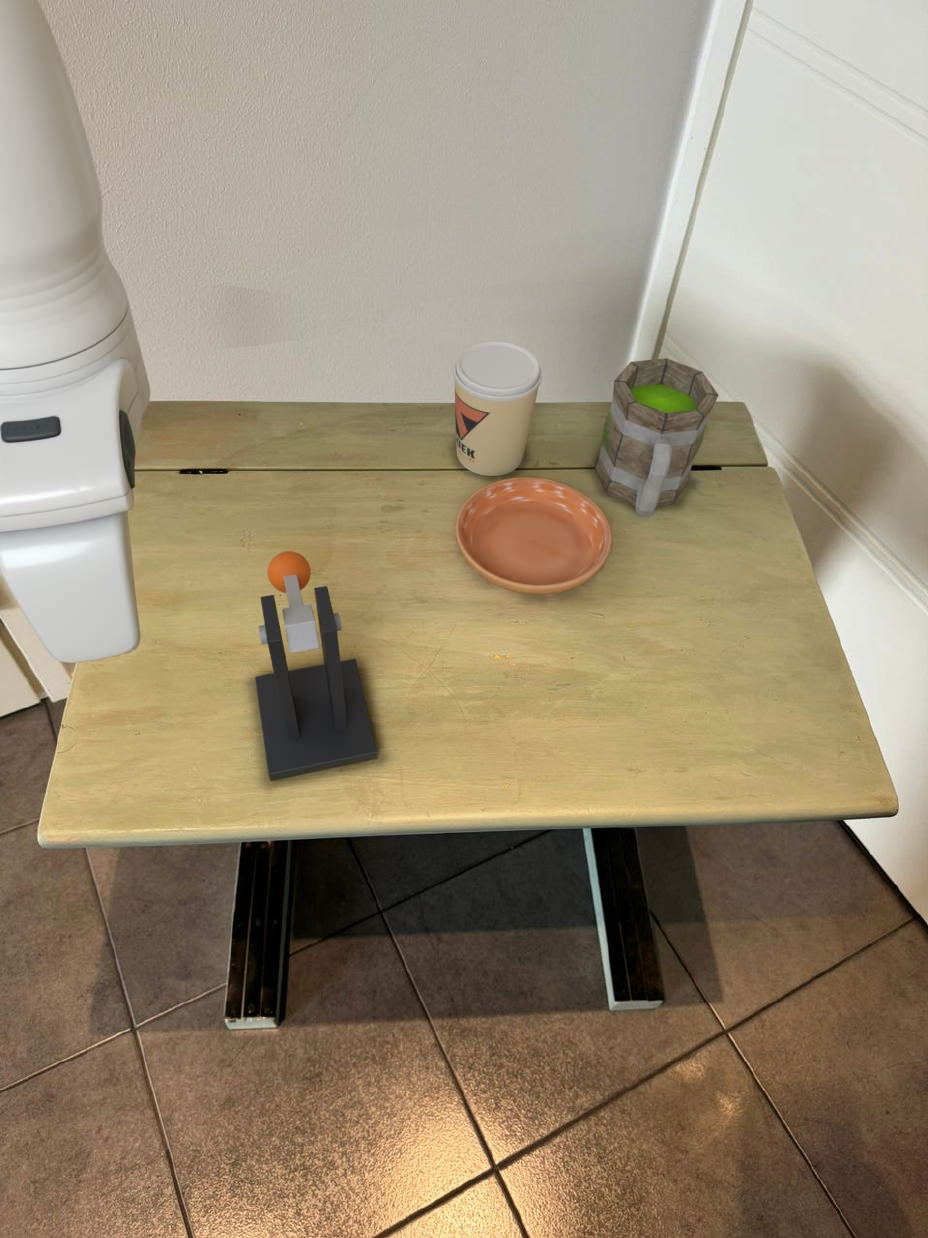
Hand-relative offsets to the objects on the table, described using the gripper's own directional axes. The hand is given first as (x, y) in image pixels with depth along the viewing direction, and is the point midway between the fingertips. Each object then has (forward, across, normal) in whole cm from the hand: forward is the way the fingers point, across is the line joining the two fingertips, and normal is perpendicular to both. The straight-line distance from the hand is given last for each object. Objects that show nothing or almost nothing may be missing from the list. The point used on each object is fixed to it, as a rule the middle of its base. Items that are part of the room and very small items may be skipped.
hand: (115, 581), depth 48 cm
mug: (+24, -25, +52) cm, 62 cm away
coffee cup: (+25, -35, +37) cm, 57 cm away
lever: (+16, -9, +11) cm, 21 cm away
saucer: (+25, -19, +36) cm, 48 cm away
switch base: (+26, -5, +11) cm, 28 cm away
